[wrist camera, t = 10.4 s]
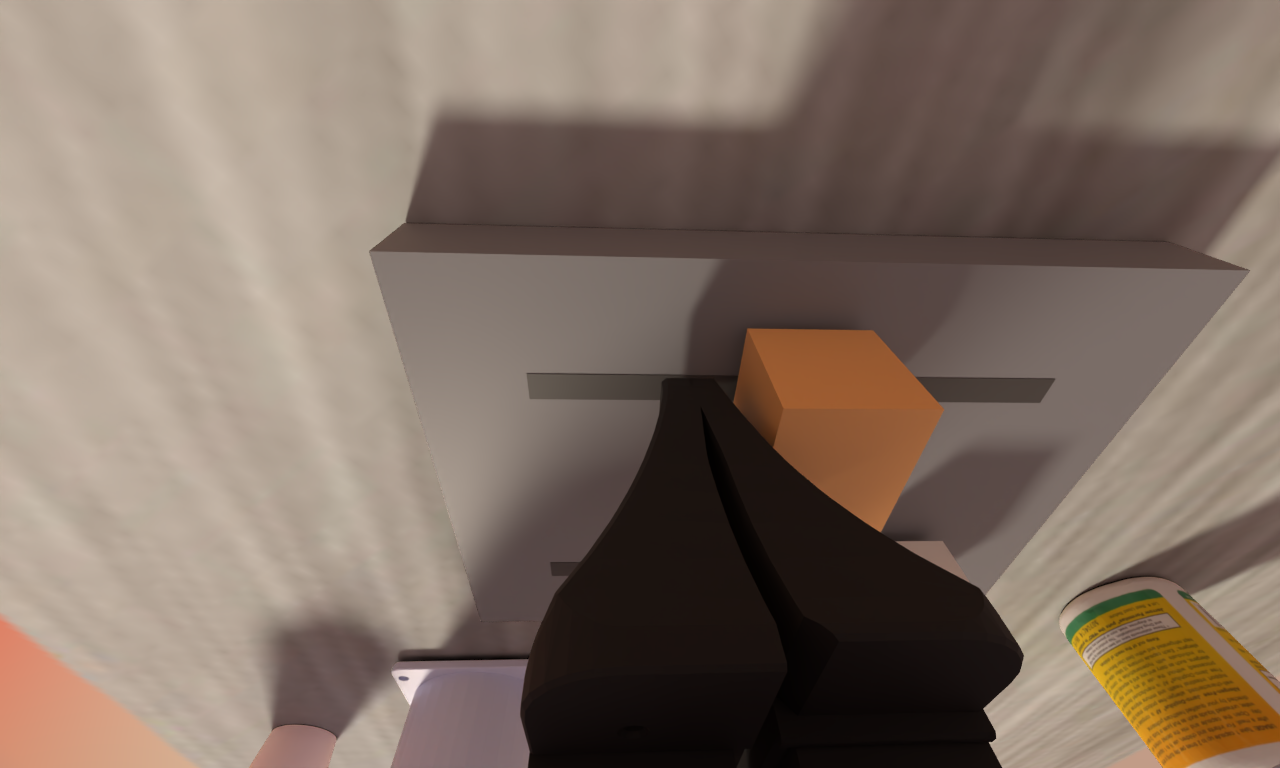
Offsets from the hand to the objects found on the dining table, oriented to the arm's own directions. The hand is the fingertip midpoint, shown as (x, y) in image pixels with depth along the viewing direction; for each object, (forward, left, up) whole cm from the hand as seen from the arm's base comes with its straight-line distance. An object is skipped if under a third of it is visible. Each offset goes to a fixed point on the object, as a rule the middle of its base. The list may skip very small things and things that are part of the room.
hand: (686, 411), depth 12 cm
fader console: (-4, -3, -3) cm, 6 cm away
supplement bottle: (-15, -23, -3) cm, 27 cm away
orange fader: (0, -3, -1) cm, 3 cm away
